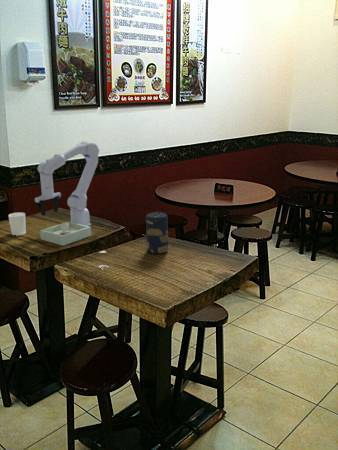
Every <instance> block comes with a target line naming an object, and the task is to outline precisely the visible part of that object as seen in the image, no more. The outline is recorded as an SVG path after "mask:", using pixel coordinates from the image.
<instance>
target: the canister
mask: <svg viewBox="0 0 338 450" xmlns="http://www.w3.org/2000/svg"><path fill="white" fill-rule="evenodd" d="M168 222H169V220H168V215H167V213H164V212H160V211H154V212H150V213H148V214H146V216H145V226H146V227H145V230H146V233H145V234H146V235H145V236H146V250H147V252H149V253H151V254H163V253H166V252H167V251H168V249H169V225H168Z"/></svg>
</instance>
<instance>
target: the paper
mask: <svg viewBox="0 0 338 450" xmlns="http://www.w3.org/2000/svg"><path fill="white" fill-rule="evenodd" d="M98 253H99V254H100V253H101V254H103V253H107V251H105V250H102V251H99V252H98ZM101 267H102V268H101ZM98 268H99V269H100V268H101V269H100V270H102V271H103V269H104V268H107V269H109V268H110V267H109V266H108V265H106V264H104V265H103V264H101V265H98Z"/></svg>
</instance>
